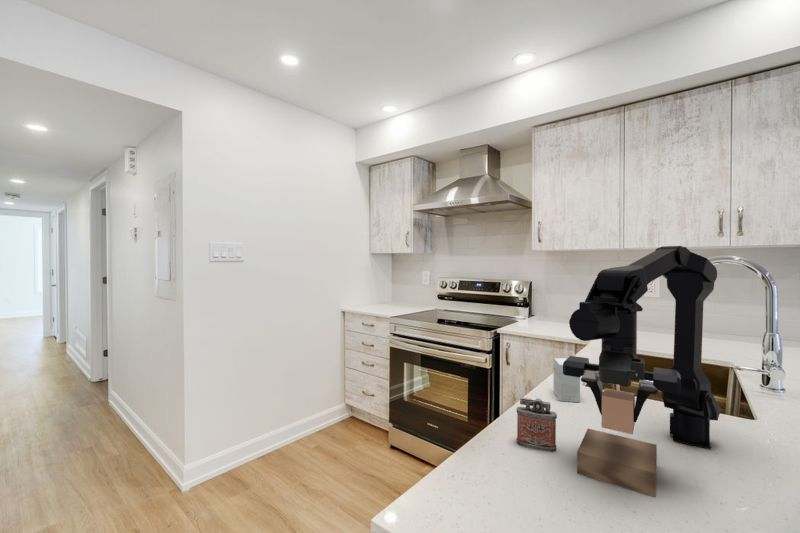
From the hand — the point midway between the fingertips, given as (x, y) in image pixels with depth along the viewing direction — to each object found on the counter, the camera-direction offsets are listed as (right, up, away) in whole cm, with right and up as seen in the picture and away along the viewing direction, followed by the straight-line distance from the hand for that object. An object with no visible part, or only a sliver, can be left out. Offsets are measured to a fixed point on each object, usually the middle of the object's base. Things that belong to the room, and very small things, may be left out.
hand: (618, 417), depth 70 cm
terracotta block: (0, -2, 0) cm, 2 cm away
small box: (+7, -10, +38) cm, 40 cm away
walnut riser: (0, -10, 0) cm, 10 cm away
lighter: (-12, -10, +9) cm, 18 cm away
